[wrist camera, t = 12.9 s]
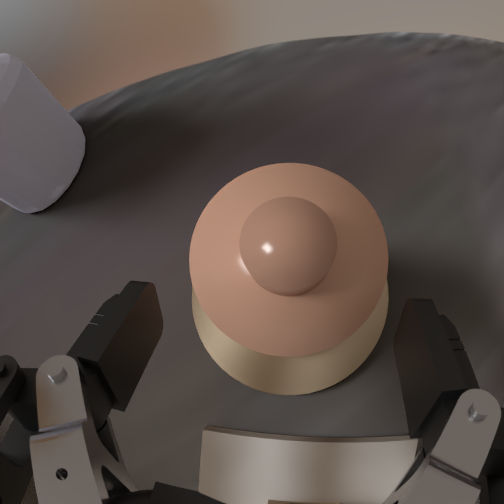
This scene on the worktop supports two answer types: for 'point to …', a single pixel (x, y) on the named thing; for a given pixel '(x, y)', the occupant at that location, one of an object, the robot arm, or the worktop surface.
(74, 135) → the soap bottle
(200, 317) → the mat
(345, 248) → the lidded jar
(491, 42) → the worktop surface
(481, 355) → the worktop surface
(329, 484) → the white display stand
